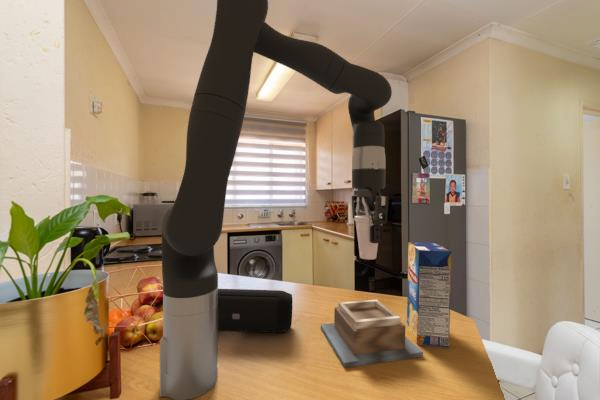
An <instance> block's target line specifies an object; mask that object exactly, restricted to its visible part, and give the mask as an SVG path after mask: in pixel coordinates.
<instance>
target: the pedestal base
mask: <svg viewBox="0 0 600 400" xmlns="http://www.w3.org/2000/svg"><path fill="white" fill-rule="evenodd" d="M320 330H321V331H322V333H323V335H324V337H325V338H326V340H327V341H328V343H329V345H330V347H331V348H332V350H333V351H334V353H335V355H336V356H337V358H338V360H339V362H340V363H341V365H342V368H352V367H359V366H367V365H373V364H381V363H386V362H392V361H393V362H394V361H401V360H408V359H409V360H410V359H416V358H417V359H418V358H423V357H424V352H423V351H422V350H421V349H420V348H419V347H418V346H417V344H415V343H413V342H412V341H411V340H410V339H408V337H407V336H406V325H405V324H404V323H403V322H401V317H400V316H398V315H397V314H396V313H395V312H394V311H392V310H391V309H390V308H388V307H387V306H386V305H384V304H383V303H382V302H381V301H380V300H378V299H377V298H376V299H366V300H365V299H364V300H356V301H355V300H353V301H342V302H341V301H340V302H338V306H337V307H336V306H335V307H334V321H333V323H332V322H331V323H323V324H320Z"/></svg>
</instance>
